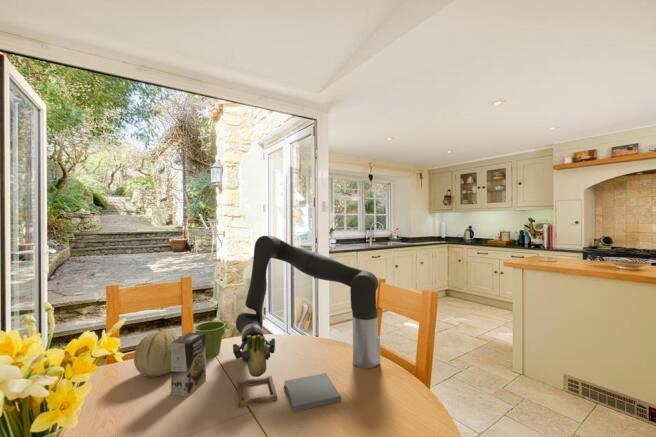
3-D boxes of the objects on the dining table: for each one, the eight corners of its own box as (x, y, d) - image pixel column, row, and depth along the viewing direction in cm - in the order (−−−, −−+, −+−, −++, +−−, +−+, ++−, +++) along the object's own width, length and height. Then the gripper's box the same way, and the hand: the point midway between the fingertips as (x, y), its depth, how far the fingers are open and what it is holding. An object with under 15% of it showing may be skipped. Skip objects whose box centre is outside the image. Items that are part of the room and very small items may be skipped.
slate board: (326, 377, 101) (326, 373, 101) (341, 401, 87) (341, 396, 87) (284, 385, 96) (284, 380, 96) (293, 411, 83) (293, 406, 83)
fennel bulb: (244, 374, 92) (244, 335, 92) (257, 368, 96) (257, 330, 96) (256, 380, 89) (255, 340, 89) (269, 374, 92) (269, 335, 92)
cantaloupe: (138, 391, 94) (137, 343, 94) (130, 373, 105) (130, 330, 105) (188, 374, 104) (187, 331, 104) (176, 360, 115) (176, 320, 115)
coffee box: (188, 397, 90) (188, 343, 90) (170, 394, 92) (169, 342, 92) (206, 381, 99) (206, 332, 99) (189, 379, 101) (189, 331, 101)
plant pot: (232, 351, 122) (231, 323, 122) (206, 363, 112) (206, 333, 112) (213, 345, 128) (213, 319, 128) (187, 356, 118) (187, 327, 118)
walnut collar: (271, 379, 100) (271, 375, 100) (277, 399, 88) (277, 395, 88) (237, 385, 96) (237, 381, 96) (238, 407, 85) (238, 403, 85)
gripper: (231, 329, 104) (231, 349, 88) (272, 324, 108) (280, 342, 92) (231, 351, 104) (232, 375, 88) (273, 345, 108) (281, 366, 92)
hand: (257, 358), depth 90 cm, fingers closed on fennel bulb, 5 cm apart
